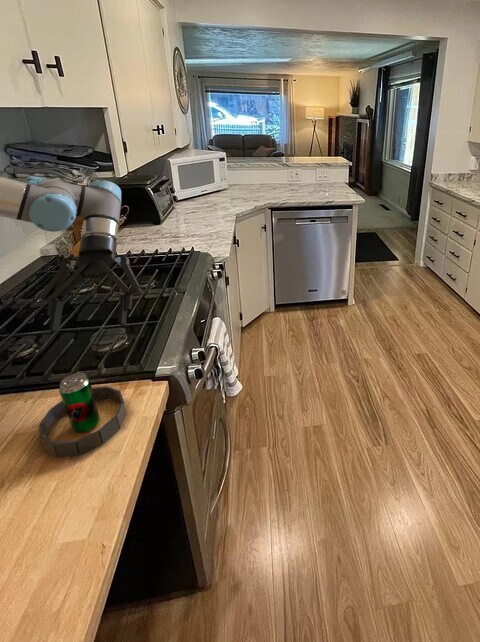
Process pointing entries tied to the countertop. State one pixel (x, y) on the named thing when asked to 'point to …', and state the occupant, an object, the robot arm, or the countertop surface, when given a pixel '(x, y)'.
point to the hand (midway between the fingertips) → (88, 327)
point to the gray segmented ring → (87, 441)
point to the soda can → (79, 403)
